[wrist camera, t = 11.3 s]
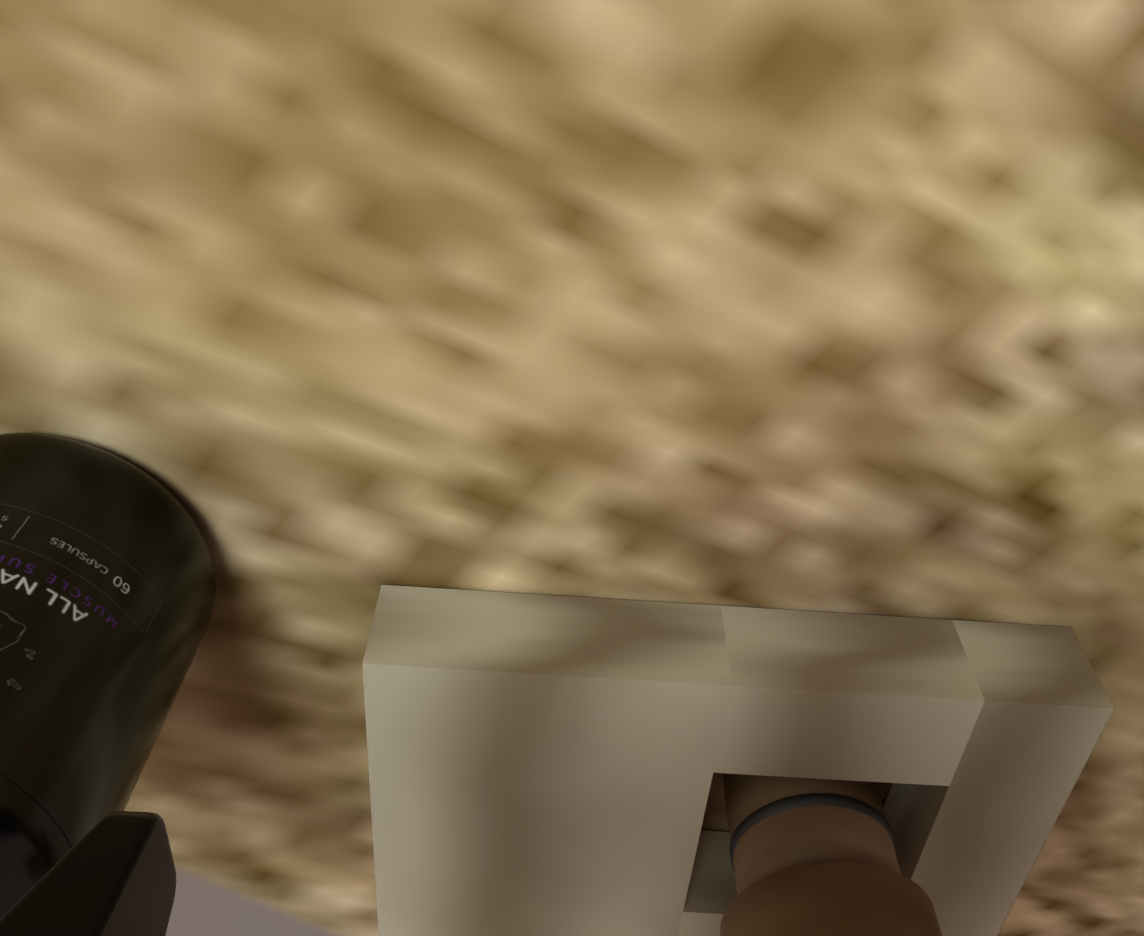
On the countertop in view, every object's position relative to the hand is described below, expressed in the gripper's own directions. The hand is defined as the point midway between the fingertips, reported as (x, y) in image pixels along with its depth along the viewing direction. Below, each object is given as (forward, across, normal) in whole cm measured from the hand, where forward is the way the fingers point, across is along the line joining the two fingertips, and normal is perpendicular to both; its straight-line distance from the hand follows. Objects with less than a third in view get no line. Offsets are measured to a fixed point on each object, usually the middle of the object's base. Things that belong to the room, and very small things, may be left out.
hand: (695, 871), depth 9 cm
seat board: (+13, -3, +14) cm, 19 cm away
